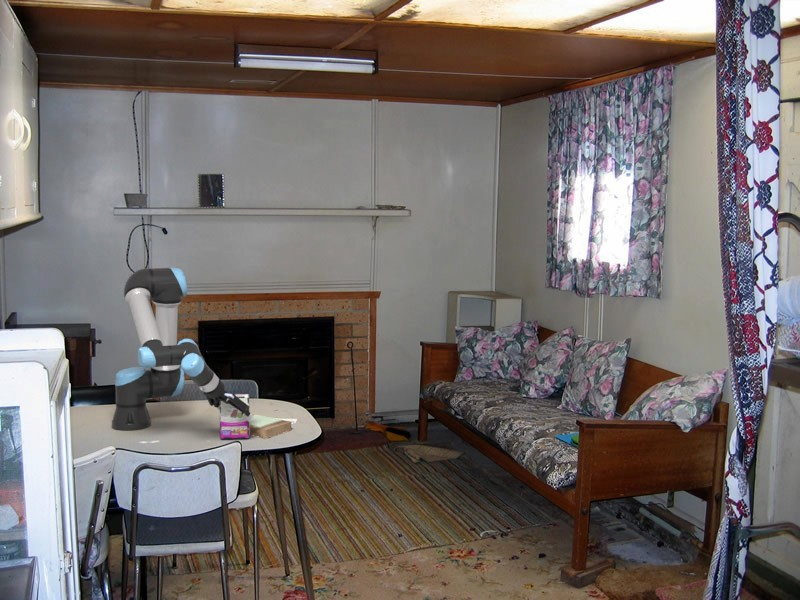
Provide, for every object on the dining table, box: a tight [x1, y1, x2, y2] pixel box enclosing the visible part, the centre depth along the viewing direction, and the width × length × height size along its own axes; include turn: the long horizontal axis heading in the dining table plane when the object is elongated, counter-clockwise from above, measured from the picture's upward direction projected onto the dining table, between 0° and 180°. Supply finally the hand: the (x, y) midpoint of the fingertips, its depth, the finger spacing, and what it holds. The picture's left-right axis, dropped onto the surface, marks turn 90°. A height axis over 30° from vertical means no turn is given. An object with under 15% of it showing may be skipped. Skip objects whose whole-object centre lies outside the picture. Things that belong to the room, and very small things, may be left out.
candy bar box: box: [219, 393, 251, 439], centre depth 327 cm, size 11×5×16 cm, turn 98°
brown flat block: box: [249, 413, 292, 439], centre depth 341 cm, size 22×15×4 cm
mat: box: [250, 414, 283, 428], centre depth 340 cm, size 14×13×1 cm
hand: (239, 417), depth 329 cm, fingers closed on candy bar box, 11 cm apart
